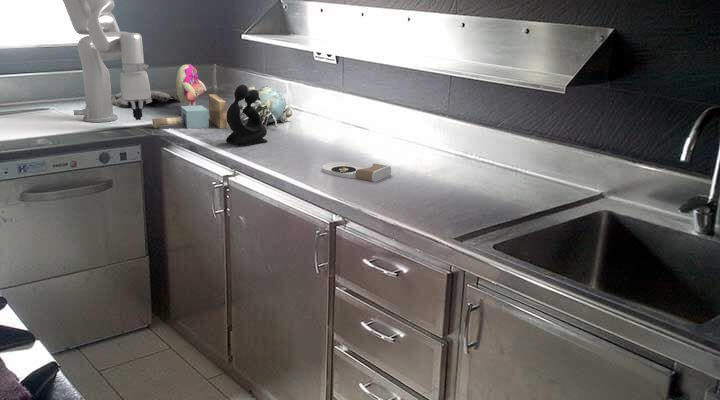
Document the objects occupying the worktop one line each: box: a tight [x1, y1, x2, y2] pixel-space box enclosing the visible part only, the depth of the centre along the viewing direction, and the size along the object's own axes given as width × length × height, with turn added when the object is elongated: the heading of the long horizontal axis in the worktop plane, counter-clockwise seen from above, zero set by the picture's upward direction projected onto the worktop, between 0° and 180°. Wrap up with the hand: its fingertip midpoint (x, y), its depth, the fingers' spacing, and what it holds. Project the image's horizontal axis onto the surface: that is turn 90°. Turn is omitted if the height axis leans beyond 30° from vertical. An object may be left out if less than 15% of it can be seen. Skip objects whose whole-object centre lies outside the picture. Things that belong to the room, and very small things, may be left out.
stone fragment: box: [112, 90, 181, 109], centre depth 304 cm, size 26×29×6 cm
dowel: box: [151, 116, 182, 129], centre depth 258 cm, size 10×4×4 cm
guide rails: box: [158, 124, 186, 130], centre depth 259 cm, size 9×7×1 cm
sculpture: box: [239, 85, 293, 129], centre depth 265 cm, size 20×18×30 cm
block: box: [180, 104, 210, 129], centre depth 262 cm, size 8×11×6 cm
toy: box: [175, 63, 207, 116], centre depth 283 cm, size 25×9×20 cm, turn 179°
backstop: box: [208, 93, 228, 130], centre depth 265 cm, size 2×18×10 cm, turn 24°
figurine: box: [225, 84, 268, 147], centre depth 235 cm, size 14×9×20 cm, turn 134°
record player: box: [321, 161, 392, 183], centre depth 204 cm, size 12×3×20 cm
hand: (138, 119), depth 253 cm, fingers closed
